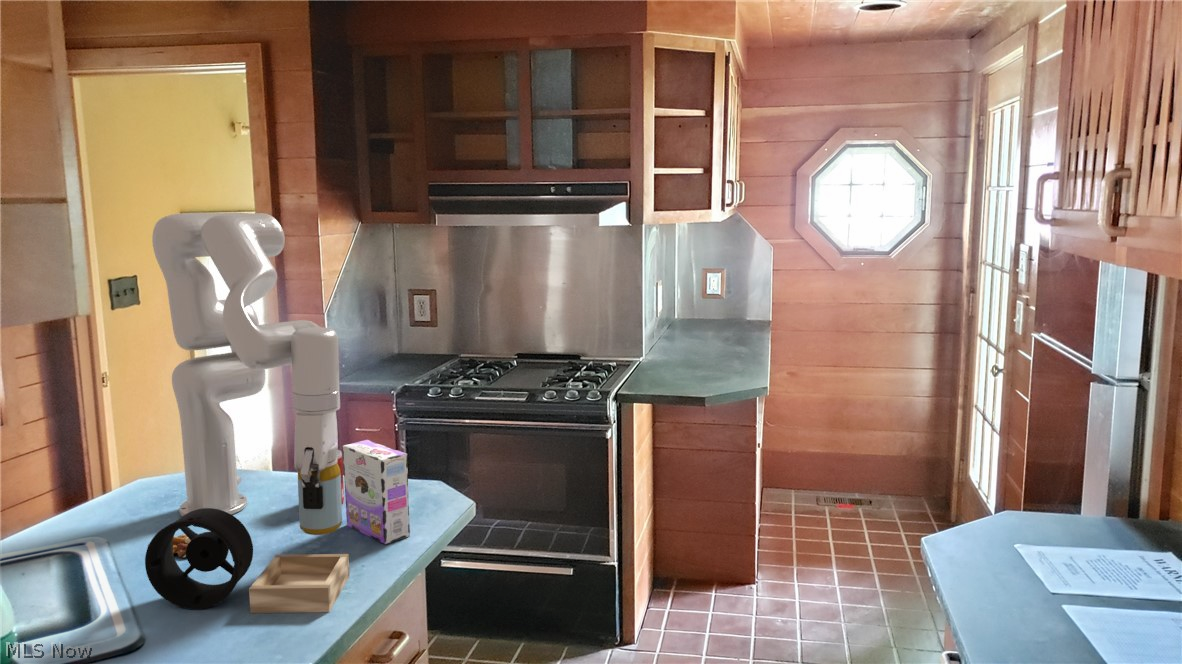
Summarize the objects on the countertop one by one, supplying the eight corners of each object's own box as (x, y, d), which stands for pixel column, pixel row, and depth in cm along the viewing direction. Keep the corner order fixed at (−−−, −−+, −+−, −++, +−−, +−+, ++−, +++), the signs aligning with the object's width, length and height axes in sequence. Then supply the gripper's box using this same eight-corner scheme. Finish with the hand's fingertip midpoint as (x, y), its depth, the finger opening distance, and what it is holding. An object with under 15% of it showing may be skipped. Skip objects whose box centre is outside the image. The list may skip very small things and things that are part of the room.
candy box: (411, 536, 154) (408, 452, 151) (384, 546, 149) (381, 460, 147) (371, 517, 163) (368, 437, 160) (345, 525, 159) (341, 444, 156)
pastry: (164, 539, 153) (162, 521, 152) (217, 547, 150) (216, 529, 149) (134, 554, 146) (132, 536, 146) (189, 563, 143) (187, 544, 143)
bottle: (329, 538, 138) (326, 454, 135) (291, 533, 140) (288, 450, 137) (349, 521, 145) (347, 441, 142) (313, 517, 146) (310, 437, 144)
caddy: (277, 577, 137) (276, 554, 136) (349, 576, 137) (348, 553, 137) (250, 613, 125) (248, 588, 125) (329, 611, 126) (328, 587, 125)
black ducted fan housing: (261, 498, 133) (234, 522, 124) (267, 580, 136) (241, 610, 126) (174, 497, 134) (140, 521, 124) (181, 580, 136) (148, 610, 126)
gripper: (310, 387, 146) (313, 481, 150) (276, 414, 129) (281, 519, 133) (352, 388, 147) (354, 481, 150) (324, 415, 130) (327, 520, 133)
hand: (320, 498), depth 141 cm, fingers closed on bottle, 7 cm apart
